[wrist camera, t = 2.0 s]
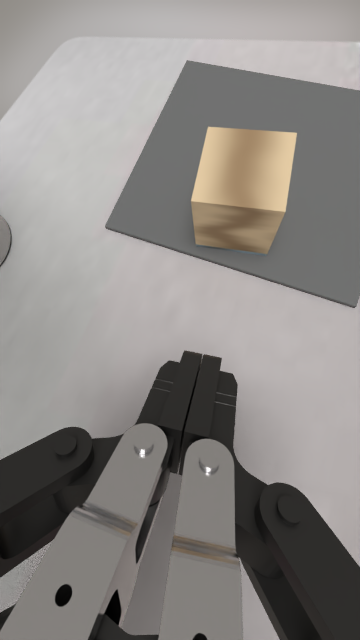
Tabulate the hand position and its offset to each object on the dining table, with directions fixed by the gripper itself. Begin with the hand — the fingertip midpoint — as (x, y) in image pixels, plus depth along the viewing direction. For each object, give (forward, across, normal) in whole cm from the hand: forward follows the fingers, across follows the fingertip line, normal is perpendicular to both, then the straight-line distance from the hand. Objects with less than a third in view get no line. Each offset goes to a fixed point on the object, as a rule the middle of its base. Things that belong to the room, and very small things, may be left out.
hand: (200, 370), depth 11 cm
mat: (+26, -1, -6) cm, 27 cm away
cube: (+21, 0, -2) cm, 21 cm away
